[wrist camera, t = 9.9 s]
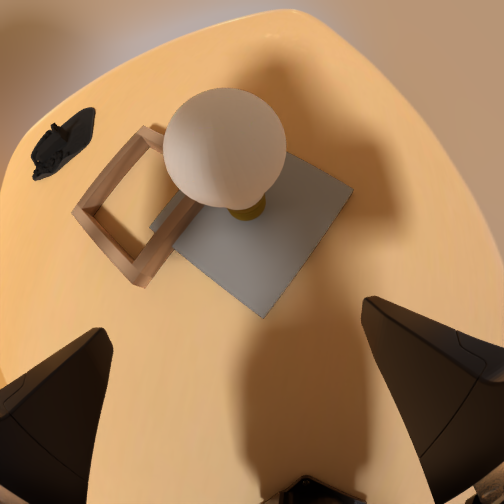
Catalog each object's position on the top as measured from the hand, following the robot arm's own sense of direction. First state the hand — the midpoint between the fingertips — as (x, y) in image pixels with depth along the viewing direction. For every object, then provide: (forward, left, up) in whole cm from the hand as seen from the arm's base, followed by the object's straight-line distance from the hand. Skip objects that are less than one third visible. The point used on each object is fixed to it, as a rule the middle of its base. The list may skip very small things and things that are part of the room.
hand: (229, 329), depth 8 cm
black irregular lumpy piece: (+34, -1, -10) cm, 35 cm away
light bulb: (+6, -6, -9) cm, 12 cm away
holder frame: (+14, -2, -9) cm, 17 cm away
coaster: (+6, -6, -9) cm, 12 cm away
